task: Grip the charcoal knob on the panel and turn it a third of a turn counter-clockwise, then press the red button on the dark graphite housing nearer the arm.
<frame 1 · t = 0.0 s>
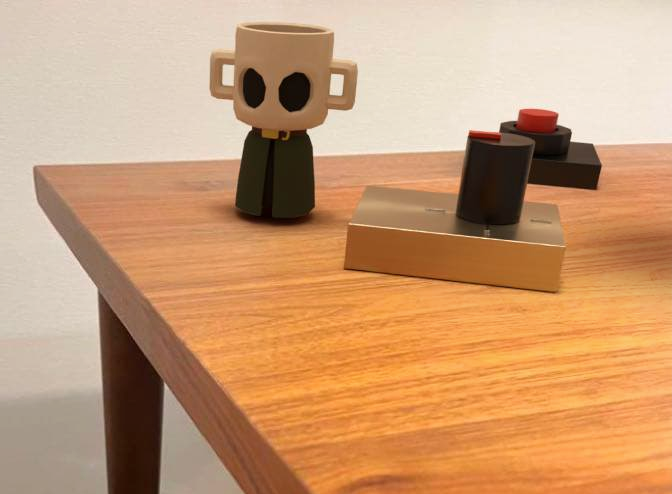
button box: (527, 172, 92), on the table
button: (536, 122, 90), point 4 cm above the table, slide at 0.1 cm
character mug: (274, 216, 76), on the table
panel: (451, 256, 69), on the table
knob: (494, 175, 65), point 6 cm above the table, hinge at 0.0°
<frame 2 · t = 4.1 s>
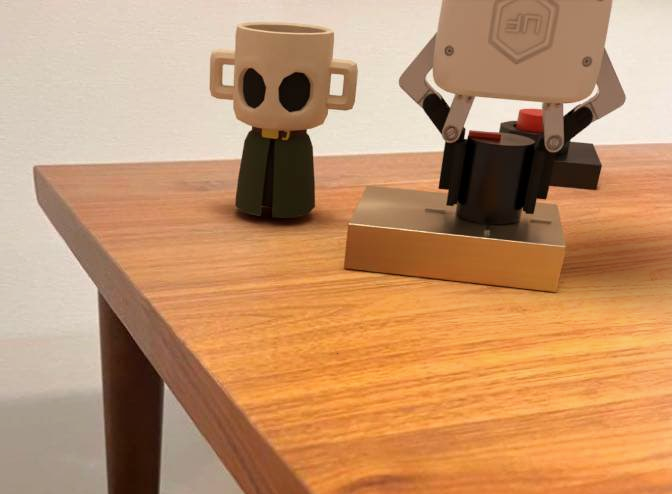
hand: (490, 202, 66), 4 cm above the table, tool pointing down, fingers closed on knob, 4 cm apart
knob: (494, 175, 65), point 6 cm above the table, hinge at -0.1°, touching gripper
everything else where it was.
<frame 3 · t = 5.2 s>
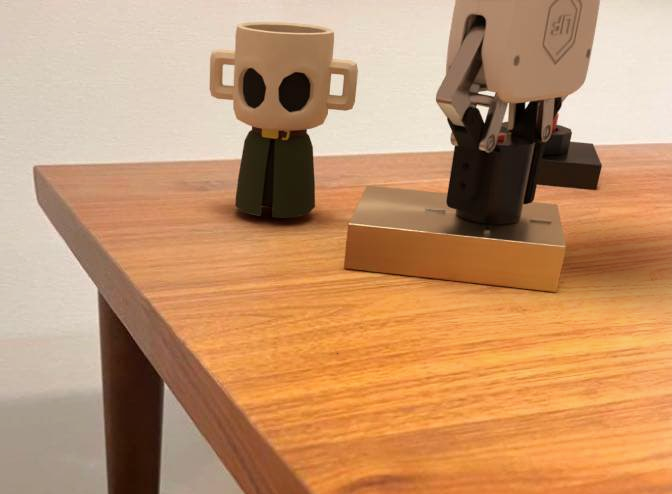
hand: (490, 202, 66), 4 cm above the table, tool pointing down, fingers closed on knob, 4 cm apart
knob: (494, 175, 65), point 6 cm above the table, hinge at 55.3°, touching gripper
everything else where it was.
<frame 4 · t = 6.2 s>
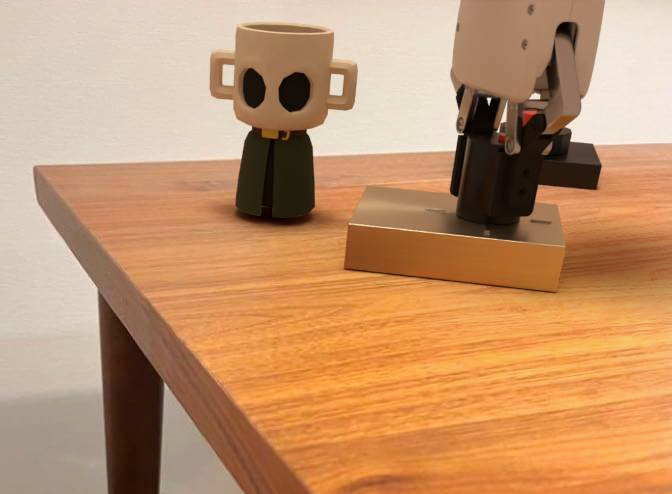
hand: (489, 202, 66), 4 cm above the table, tool pointing down, fingers closed on knob, 4 cm apart
knob: (494, 175, 65), point 6 cm above the table, hinge at 120.2°, touching gripper
everything else where it was.
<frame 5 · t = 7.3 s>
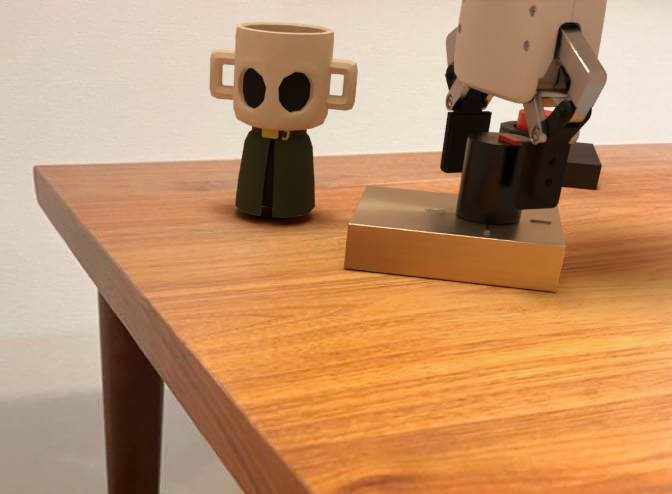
hand: (495, 188, 66), 5 cm above the table, tool pointing down, fingers open, 9 cm apart
knob: (494, 175, 65), point 6 cm above the table, hinge at 119.1°
everything else where it was.
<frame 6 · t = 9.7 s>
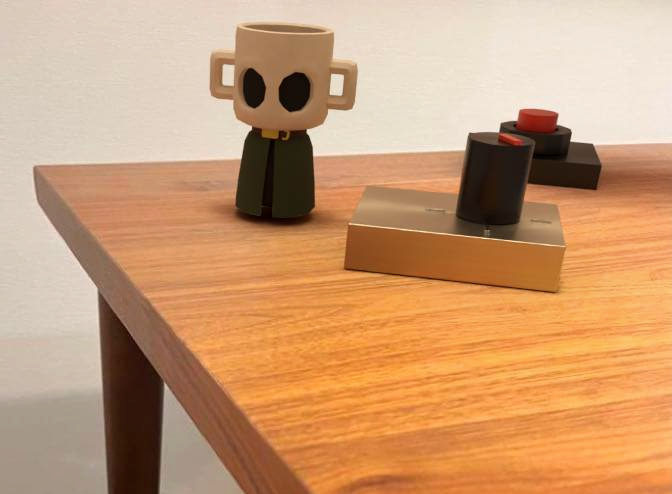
nothing on the table moved.
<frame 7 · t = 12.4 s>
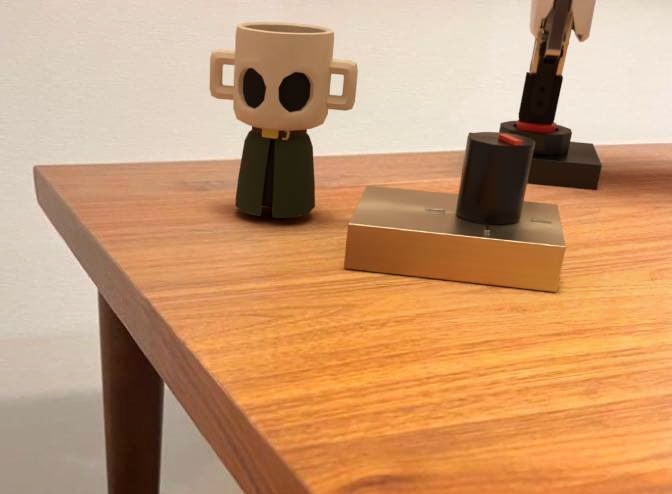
hand: (535, 121, 90), 5 cm above the table, tool pointing down, fingers closed
button: (535, 132, 90), point 4 cm above the table, slide at -0.8 cm, touching gripper
everything else where it was.
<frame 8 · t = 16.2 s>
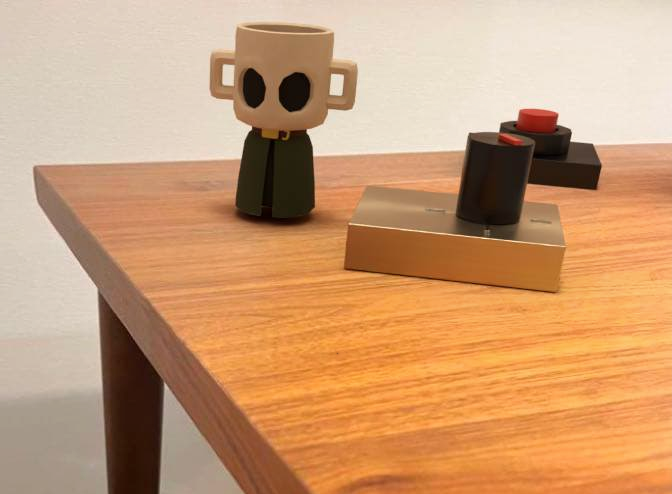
button: (536, 122, 90), point 4 cm above the table, slide at 0.1 cm
everything else where it was.
at the end: knob at +119° (first picture: +0°); button pushed in 1.1 cm at the most during the clip, back to where it started at the end; button slide at 0.1 cm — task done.
